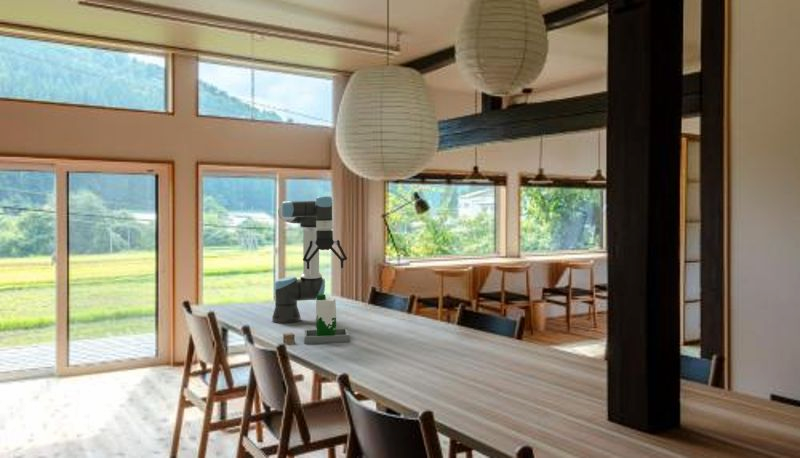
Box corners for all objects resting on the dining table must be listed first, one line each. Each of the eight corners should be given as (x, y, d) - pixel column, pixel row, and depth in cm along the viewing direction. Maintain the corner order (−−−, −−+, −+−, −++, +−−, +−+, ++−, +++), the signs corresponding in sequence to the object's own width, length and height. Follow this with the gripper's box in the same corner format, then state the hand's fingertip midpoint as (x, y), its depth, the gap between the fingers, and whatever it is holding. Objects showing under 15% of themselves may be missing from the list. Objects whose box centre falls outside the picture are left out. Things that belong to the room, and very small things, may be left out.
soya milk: (318, 335, 288) (317, 293, 287) (337, 335, 287) (336, 293, 287) (315, 339, 279) (314, 296, 278) (334, 339, 279) (334, 296, 278)
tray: (304, 336, 290) (304, 330, 290) (346, 334, 293) (346, 328, 293) (304, 343, 274) (304, 337, 274) (349, 341, 277) (349, 335, 277)
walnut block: (283, 342, 278) (283, 333, 277) (291, 341, 280) (291, 332, 279) (286, 344, 274) (286, 335, 274) (294, 343, 276) (294, 334, 276)
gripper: (297, 230, 276) (297, 277, 277) (352, 229, 280) (352, 275, 281) (297, 230, 283) (298, 275, 284) (351, 229, 287) (351, 274, 288)
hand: (325, 275), depth 282 cm, fingers open, 13 cm apart
